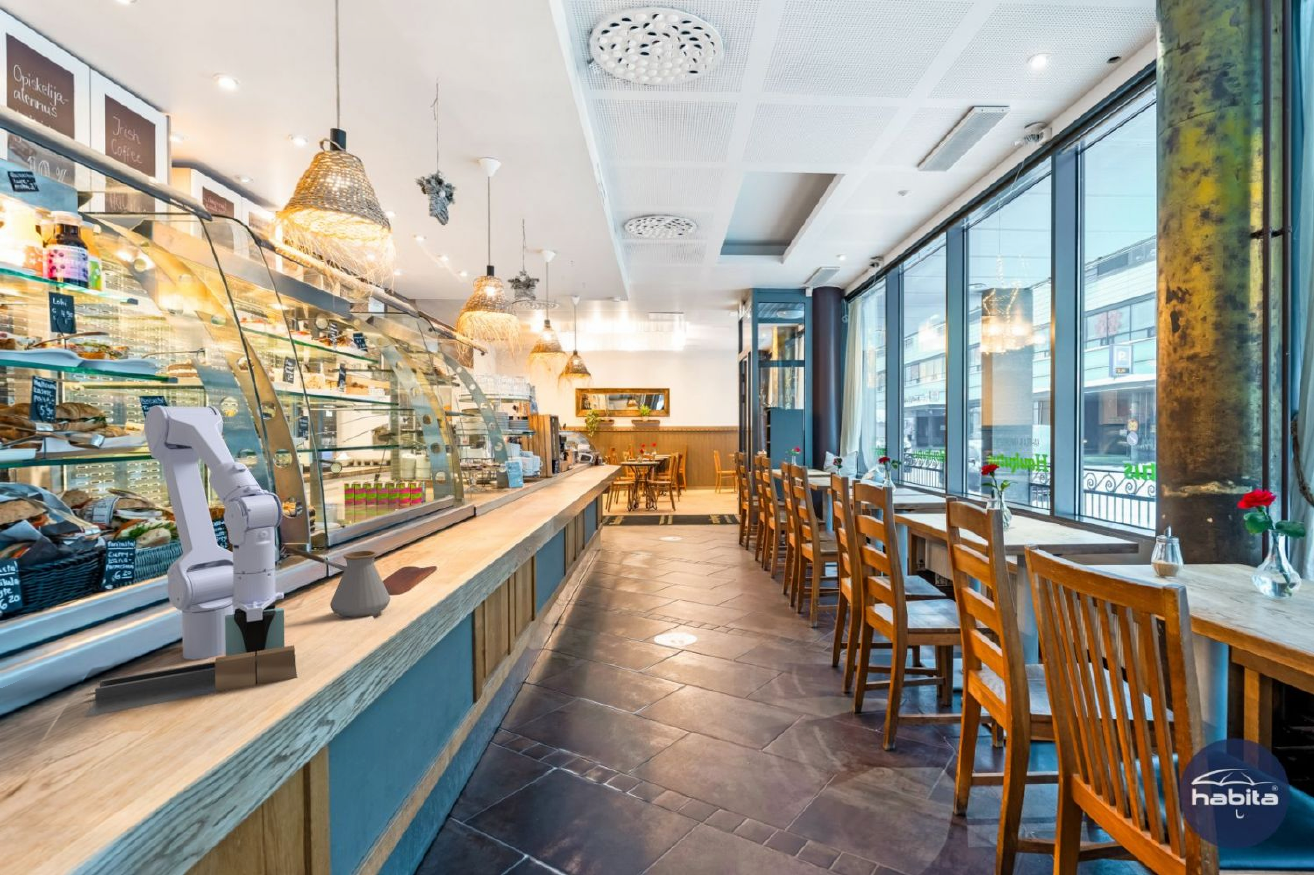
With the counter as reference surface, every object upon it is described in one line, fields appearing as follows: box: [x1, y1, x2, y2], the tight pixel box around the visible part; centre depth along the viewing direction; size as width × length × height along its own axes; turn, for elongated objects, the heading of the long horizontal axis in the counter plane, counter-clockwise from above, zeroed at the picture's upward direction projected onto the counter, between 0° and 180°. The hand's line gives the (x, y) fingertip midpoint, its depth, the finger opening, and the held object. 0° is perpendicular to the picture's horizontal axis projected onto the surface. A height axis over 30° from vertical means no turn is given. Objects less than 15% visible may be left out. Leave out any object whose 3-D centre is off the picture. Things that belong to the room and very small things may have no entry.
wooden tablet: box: [382, 565, 438, 596], centre depth 161 cm, size 27×10×2 cm, turn 1°
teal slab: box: [225, 607, 285, 661], centre depth 103 cm, size 2×8×9 cm, turn 122°
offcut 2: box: [256, 644, 296, 686], centre depth 99 cm, size 2×5×4 cm, turn 122°
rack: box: [85, 661, 298, 718], centre depth 97 cm, size 11×25×2 cm, turn 122°
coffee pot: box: [279, 545, 391, 620], centre depth 133 cm, size 21×12×15 cm, turn 97°
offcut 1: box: [214, 652, 257, 693], centre depth 96 cm, size 2×5×4 cm, turn 122°
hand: (255, 652), depth 103 cm, fingers closed on teal slab, 1 cm apart
